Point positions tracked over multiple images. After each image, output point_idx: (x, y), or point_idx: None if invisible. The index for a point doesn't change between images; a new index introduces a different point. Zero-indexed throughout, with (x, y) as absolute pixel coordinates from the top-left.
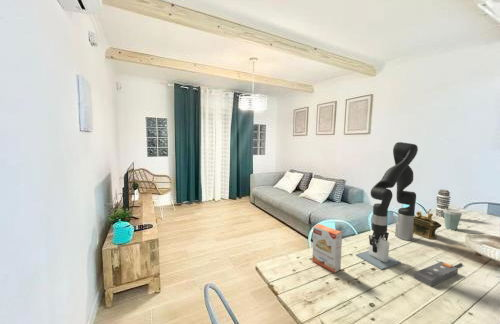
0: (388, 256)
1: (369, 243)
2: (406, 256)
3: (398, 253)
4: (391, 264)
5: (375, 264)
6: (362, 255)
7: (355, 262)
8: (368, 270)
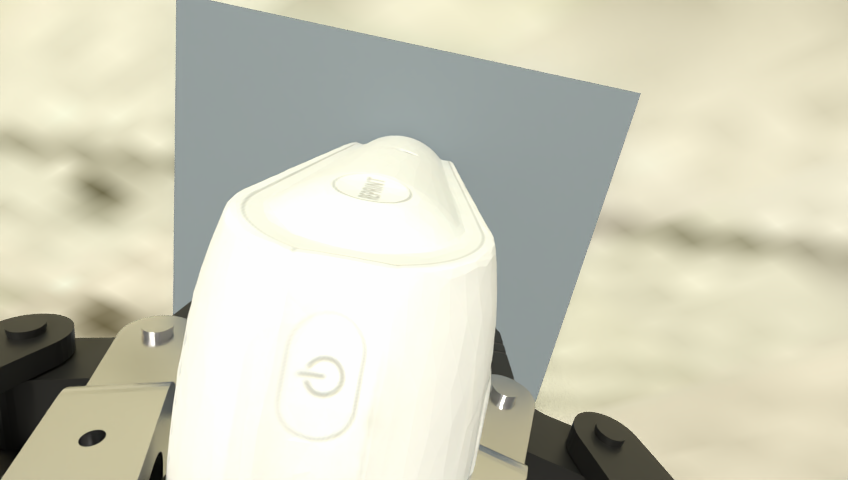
0: (547, 327)
1: (296, 169)
2: (747, 427)
3: (771, 350)
4: None
5: None
6: (249, 88)
7: (9, 117)
8: (25, 307)
